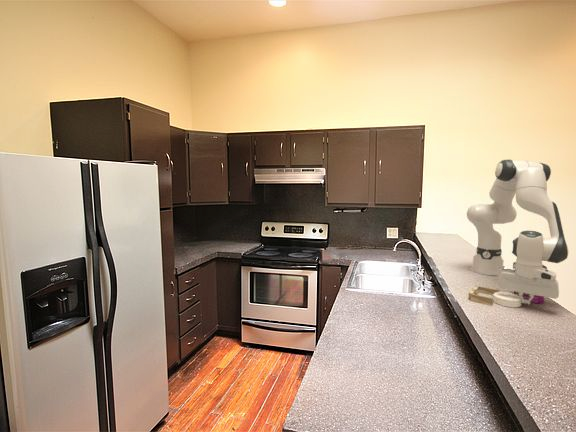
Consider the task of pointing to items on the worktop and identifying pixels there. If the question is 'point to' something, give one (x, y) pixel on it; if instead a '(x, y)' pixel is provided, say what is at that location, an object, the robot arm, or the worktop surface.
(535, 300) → the candy bar box
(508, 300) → the coaster
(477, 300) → the holder
